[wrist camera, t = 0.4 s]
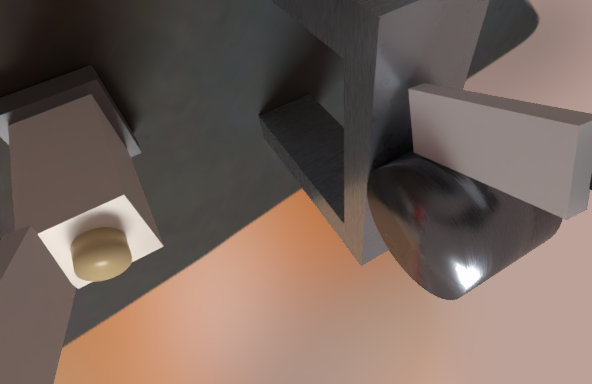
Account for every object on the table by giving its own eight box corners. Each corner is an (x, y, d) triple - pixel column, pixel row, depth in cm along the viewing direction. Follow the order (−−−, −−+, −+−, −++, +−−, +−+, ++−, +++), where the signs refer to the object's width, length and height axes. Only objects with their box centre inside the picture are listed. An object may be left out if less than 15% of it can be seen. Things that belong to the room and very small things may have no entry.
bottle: (-16, 103, 21) (-15, 266, 14) (91, 64, 22) (139, 195, 15) (51, 173, 26) (75, 320, 19) (135, 137, 27) (187, 263, 20)
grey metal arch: (210, -91, 20) (564, 133, 8) (290, -114, 21) (710, 49, 9) (263, 137, 34) (426, 352, 21) (311, 115, 35) (492, 308, 22)
